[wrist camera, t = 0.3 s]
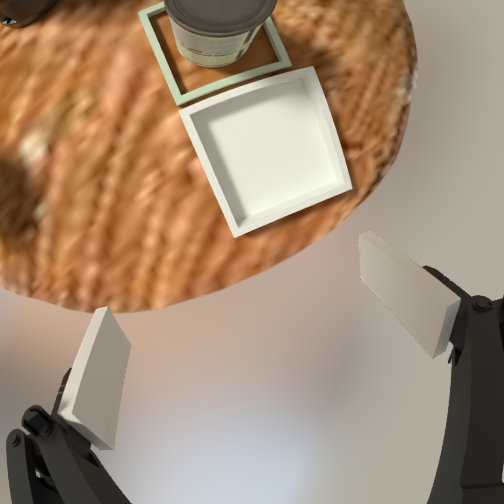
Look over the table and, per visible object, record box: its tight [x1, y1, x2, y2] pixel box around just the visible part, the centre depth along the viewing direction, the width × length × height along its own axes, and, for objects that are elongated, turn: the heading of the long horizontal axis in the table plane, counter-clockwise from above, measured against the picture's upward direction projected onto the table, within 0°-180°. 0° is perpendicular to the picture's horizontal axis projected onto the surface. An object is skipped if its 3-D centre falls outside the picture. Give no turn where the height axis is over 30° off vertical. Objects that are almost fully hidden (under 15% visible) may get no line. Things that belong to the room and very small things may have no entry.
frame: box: [137, 1, 292, 106], centre depth 28 cm, size 16×16×2 cm
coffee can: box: [163, 0, 277, 68], centre depth 23 cm, size 10×10×14 cm
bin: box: [179, 66, 352, 238], centre depth 35 cm, size 18×18×4 cm
